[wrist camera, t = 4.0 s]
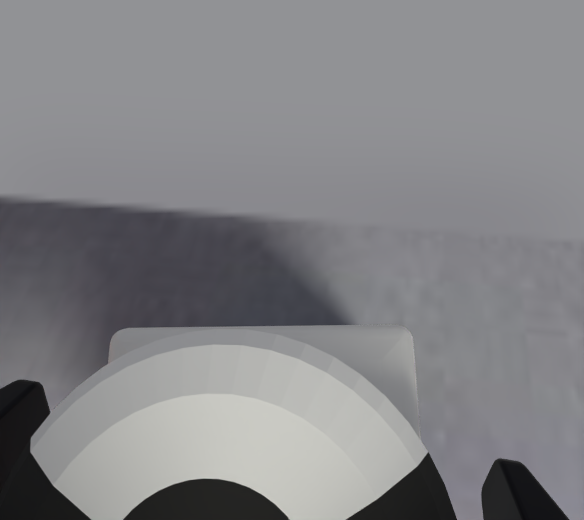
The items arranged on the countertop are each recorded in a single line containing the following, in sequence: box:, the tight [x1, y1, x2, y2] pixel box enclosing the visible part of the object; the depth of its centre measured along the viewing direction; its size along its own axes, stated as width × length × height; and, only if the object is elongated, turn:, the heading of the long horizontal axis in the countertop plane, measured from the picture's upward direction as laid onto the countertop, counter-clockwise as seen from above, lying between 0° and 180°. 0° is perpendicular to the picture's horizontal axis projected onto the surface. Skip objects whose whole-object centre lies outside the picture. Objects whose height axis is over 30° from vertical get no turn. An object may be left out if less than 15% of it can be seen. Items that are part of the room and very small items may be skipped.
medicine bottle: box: [0, 324, 457, 520], centre depth 11 cm, size 7×7×12 cm
